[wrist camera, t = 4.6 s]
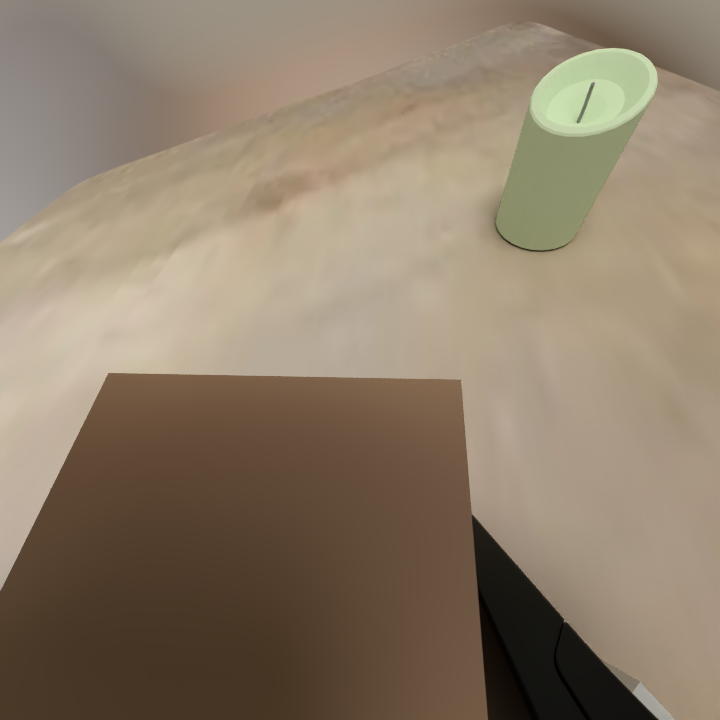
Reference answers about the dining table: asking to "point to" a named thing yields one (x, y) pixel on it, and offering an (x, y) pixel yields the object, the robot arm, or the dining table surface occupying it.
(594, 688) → the robot arm
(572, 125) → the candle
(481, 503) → the dining table surface
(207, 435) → the walnut block
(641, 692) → the acrylic channel
